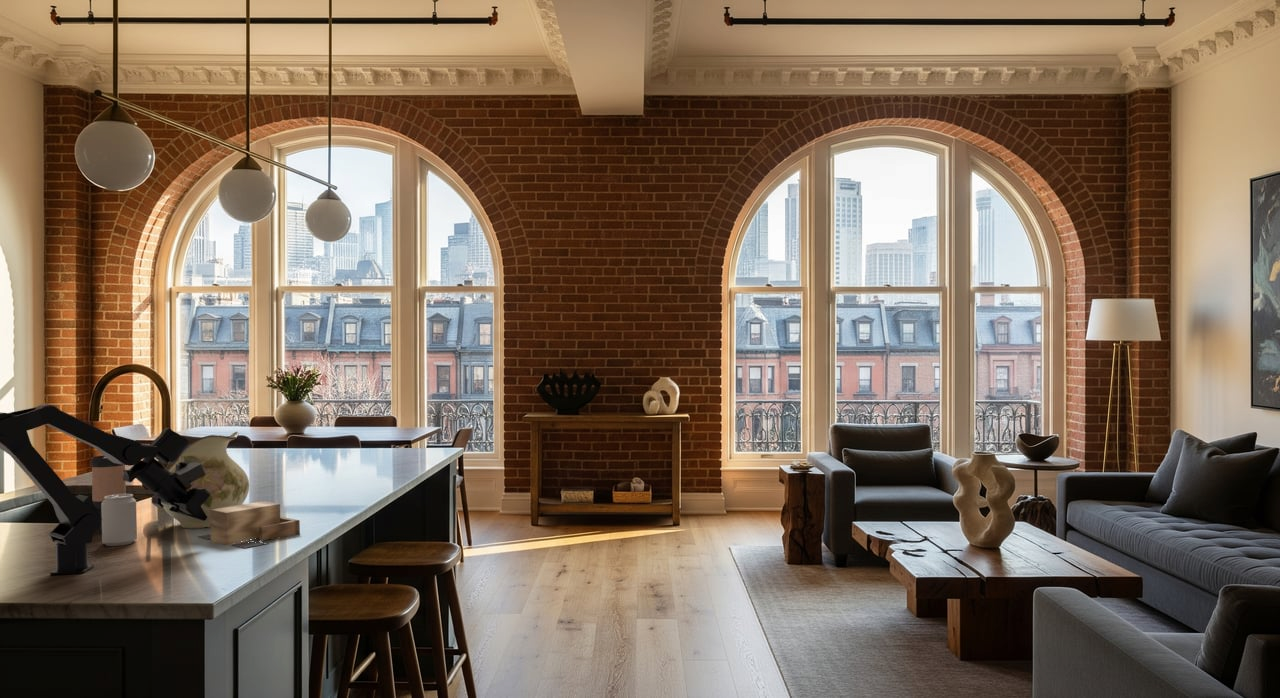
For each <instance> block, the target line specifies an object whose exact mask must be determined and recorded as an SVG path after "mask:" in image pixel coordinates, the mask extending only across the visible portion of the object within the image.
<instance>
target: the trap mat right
mask: <svg viewBox="0 0 1280 698" xmlns="http://www.w3.org/2000/svg"><path fill="white" fill-rule="evenodd" d="M257 540H258V539H255V540H252V541H254V542H250V541H251V540H250V541H245V542H240V543H235V544H231V546H233V547H236V546H237V547H236V548H240V547H242V548H241V549H244V548H245V549H249V548H248V547H250V548H253V547H252V546H255V547H258V546H257V545H260V546H263V545H262V544H264V543H267V542H266V541H262V542H263V543H260V542H259V540H258V541H257ZM248 542H249V543H248ZM255 542H256V543H255Z"/></svg>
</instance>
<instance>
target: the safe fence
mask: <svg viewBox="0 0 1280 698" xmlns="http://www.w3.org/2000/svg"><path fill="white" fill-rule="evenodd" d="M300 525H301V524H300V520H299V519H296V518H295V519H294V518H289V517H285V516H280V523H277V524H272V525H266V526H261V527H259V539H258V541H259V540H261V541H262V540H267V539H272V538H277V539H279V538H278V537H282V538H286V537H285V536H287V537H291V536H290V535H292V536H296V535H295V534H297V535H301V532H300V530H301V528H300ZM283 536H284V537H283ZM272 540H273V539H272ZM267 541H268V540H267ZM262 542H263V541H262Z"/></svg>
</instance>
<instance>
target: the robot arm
mask: <svg viewBox="0 0 1280 698" xmlns="http://www.w3.org/2000/svg"><path fill="white" fill-rule="evenodd" d="M45 425H46V426H48V427H50V428H53V429H54V430H56V431H58V432H61V433H63V434H65V435H67V436H69V437H71V438H73V439H76V440H78V441H80V442H82V443H84V444H86V445H88V446H90V447H92V448H94V449H96V451H97V452H99V454H100V455H101V456H105V457H106V458H107V459H109V460H110V461H112V462H113V463H116V464H121V465H125V466H129V467H130V466H131V467H130V468H128V469H125V470H123V472H124V475H123V481H125V482H126V483H132V482H133V481H134V480H135V479H136V480H137V481H139V483H141V484H142V485H143V486H145V487H146V488H147V490H146V491H147V492H149V493H150V494H153V495H152V497H151V503H152V504H153V505H154V506H155V507H156V508H157V509H158V508H159V509H164V508H163V507H164V506H163V504H166V505H170V506H171V508H170V511H172V512H176V513H179V514H183V515H186V516H189V517H193V518H196V519H199V520H203V521H205V520H206V519H207V516H206V514H205V512H204V511H203V509H202V507H201V505H202V504H203V503H204V502H205V501H206V500H207V498H208V497H209V496H210V494H211V493H209V492H208V491H207V490H206V489H204V488H192V489H189V488H190V487H191V486H192V485H191V484H190V483H192V482H193V481H195V480H197V479H199V478H200V477H204V476H205V475H206V473H205V471H204V469H203V467H202V465H201V463H197V462H193V463H188V464H186V463H185V462H179V463H178V464H176V471H175V472H174V473H173V472H170V471H169V470H167V469H166V468H165V467H164V466H163V465H162V464H160V463H159V462H158V460H159V461H160V462H162V463H164V464H167V463H174V462H175V461H176V460H177V459H178V458H179V457H180V456H181V455H182V454H183V452H184V451H185V450H186V449H187V448H188V447H189V446H190V445H191V443H190V441H189V440H188V439H187V438H186V437H185V436H183V435H181V434H179V433H178V432H176V431H174V430H172V429H171V428H169V427H165V428H164V429H163V430H162V431H160V433H159V435H158V436H157V437H156V438H155V439H154V440H153V441H152V442H151V443H150V444H148V443H142V442H140V441H138V440H135V439H131V438H128V437H124V436H120V435H117V434H112V433H109V432H106V431H104V430H103V429H100V428H98V427H96V426H94V425H92V424H90V423H88V422H86V421H83V420H82V419H79V418H77V417H76V416H73V415H71V414H69V413H67V412H65V411H63V410H61V409H60V408H58V407H57V406H55V405H52V404H40V405H37V406H35V407H31V408H26V409H22V410H17V411H12V412H0V450H2V451H4V453H6V454H8V455H9V456H10V457H11V458H12V459H13V460H14V462H15V463H16V464H17V465H18V467H20V468H21V469H22V471H23V472H24V474H26V475H27V476H28V478H29V479H30V480H31V481H32V482H33V483H34V486H35V485H36V487H37V488H38V490H40V491H41V493H42V494H43V495H44V496H45V498H47V499H48V501H49V502H50V503H51V504H52V507H53V509H54V512H55V516H56V517H57V519H58V521H59V523H58V524H57V525H56V526H55V527H54V528H53V529H52V530H51V531H50V532H49V537H50V539H51V541H52V543H56V544H55V546H56V547H55V549H56V552H55V553H56V555H55V556H56V569H54V570H52V571H50V572H49V575H50V576H52V575H53V576H54V575H66V574H67V575H69V574H81V573H85V572H87V571H88V570H90V569H91V568H93V567H94V566H95V563H89V560H88V559H89V557H88V555H89V554H88V550H89V549H88V544H91V543H92V541H93V539H94V536H95V535H96V534H95V532H96V531H97V530H98V529H99V527H100V525H101V521H102V517H101V515H100V514H99V513H98V512H100V511H101V510H100V509H98V508H97V507H96V506H95V505H94V503H93V502H92V499H91V498H92V497H90V496H87V495H82V494H77V495H75V494H74V493H73V492H72V491H71V489H70V488H69V487H68V486H67V484H65V483H64V481H63V480H62V478H60V476H59V475H58V474H57V473H56V472H55V470H54V469H53V468H52V467H51V466H50V464H49V463H48V462H47V461H46V460H45V459H44V458H43V456H42V455H41V454H40V453H39V452H38V450H37V449H36V448H35V447H34V446H33V443H32V442H31V439H30V436H29V433H28V431H31V430H34V429H36V428H39V427H42V426H45ZM187 489H189V490H187ZM161 503H163V504H161Z"/></svg>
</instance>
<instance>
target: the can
mask: <svg viewBox="0 0 1280 698" xmlns="http://www.w3.org/2000/svg"><path fill="white" fill-rule="evenodd" d="M104 498H105V500H104V501H103V502H102V503H101V511H102V534H101V542H102V543H103V544H104V545H105V546H107V547H118V546H125V545H130V544H133V543H134V542H135V541H136V540H137V538H138V528H137V525H138V524H137V522H138V520H137V499H135V498H134V494H132V493H126V494H117V495H110V496H106V497H104Z"/></svg>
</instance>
